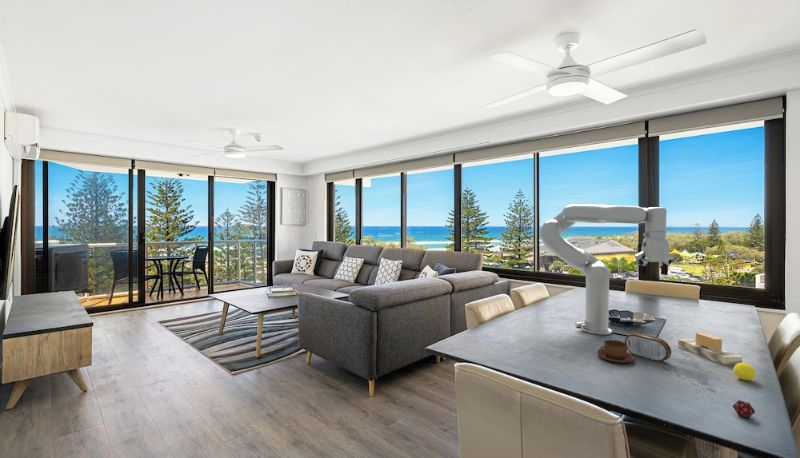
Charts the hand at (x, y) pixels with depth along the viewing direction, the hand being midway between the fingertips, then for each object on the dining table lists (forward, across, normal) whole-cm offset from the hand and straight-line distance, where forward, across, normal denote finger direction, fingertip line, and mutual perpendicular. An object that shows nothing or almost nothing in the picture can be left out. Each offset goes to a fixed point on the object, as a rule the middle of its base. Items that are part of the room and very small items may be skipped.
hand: (653, 274), depth 164 cm
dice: (+28, -25, -64) cm, 75 cm away
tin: (+28, -20, -22) cm, 41 cm away
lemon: (+28, -2, -42) cm, 51 cm away
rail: (+28, +6, -21) cm, 35 cm away
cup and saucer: (+29, -32, -23) cm, 49 cm away
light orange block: (+28, +6, -21) cm, 36 cm away
